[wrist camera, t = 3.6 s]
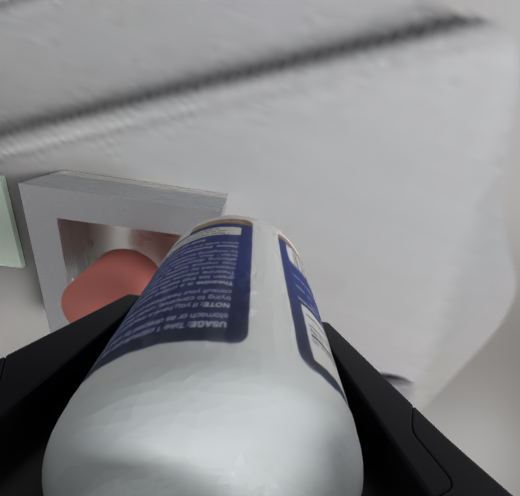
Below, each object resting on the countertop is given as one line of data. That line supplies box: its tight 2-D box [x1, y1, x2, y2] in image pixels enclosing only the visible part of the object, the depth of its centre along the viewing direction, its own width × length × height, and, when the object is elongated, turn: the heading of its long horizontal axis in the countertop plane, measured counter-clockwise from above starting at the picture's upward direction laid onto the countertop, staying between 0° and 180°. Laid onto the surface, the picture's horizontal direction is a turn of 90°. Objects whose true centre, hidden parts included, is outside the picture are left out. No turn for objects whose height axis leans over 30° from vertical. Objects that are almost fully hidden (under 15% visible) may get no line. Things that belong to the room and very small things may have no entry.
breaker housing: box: [18, 170, 228, 333], centre depth 20 cm, size 11×11×4 cm
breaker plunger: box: [61, 249, 158, 323], centre depth 17 cm, size 4×4×3 cm
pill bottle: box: [42, 215, 363, 496], centre depth 7 cm, size 5×5×10 cm
